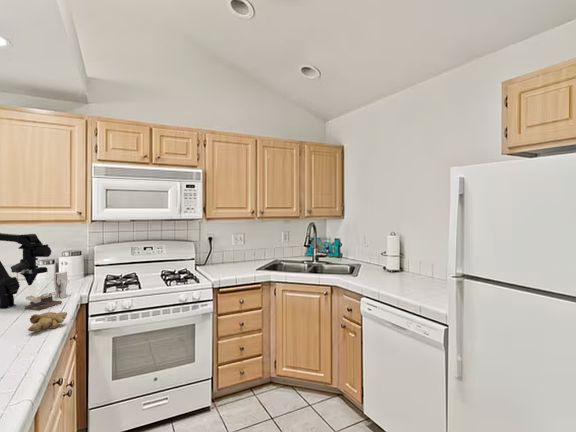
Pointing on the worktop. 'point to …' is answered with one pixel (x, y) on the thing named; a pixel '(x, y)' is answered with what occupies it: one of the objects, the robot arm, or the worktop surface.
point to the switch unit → (43, 304)
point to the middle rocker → (43, 296)
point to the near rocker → (33, 299)
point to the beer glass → (60, 284)
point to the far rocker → (51, 294)
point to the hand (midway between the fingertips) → (29, 285)
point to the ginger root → (46, 320)
